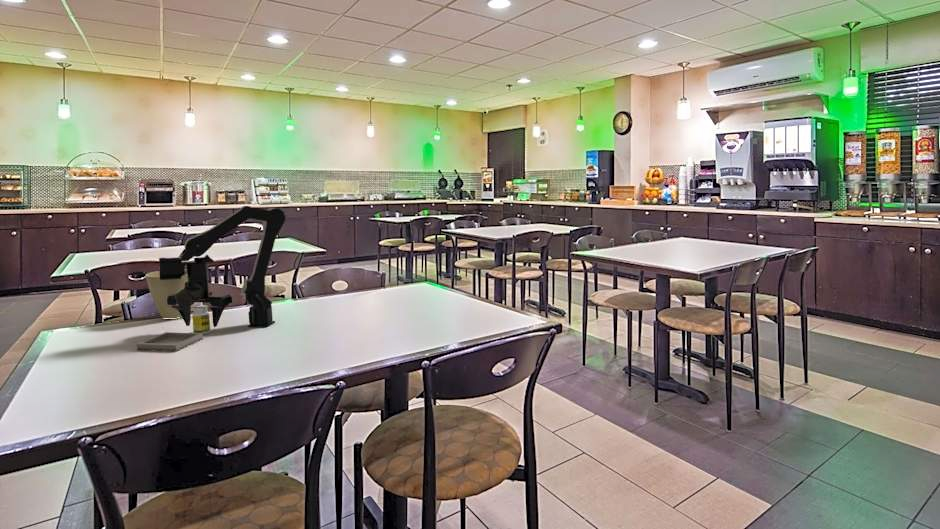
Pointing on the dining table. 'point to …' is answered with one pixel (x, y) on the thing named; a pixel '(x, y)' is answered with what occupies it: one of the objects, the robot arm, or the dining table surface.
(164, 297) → the plant pot
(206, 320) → the supplement bottle
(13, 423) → the dining table surface
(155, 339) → the tray
